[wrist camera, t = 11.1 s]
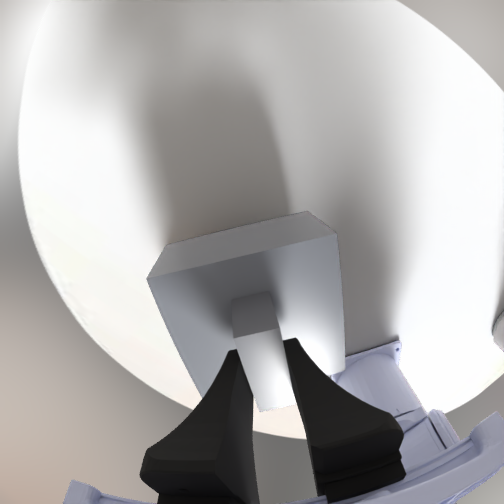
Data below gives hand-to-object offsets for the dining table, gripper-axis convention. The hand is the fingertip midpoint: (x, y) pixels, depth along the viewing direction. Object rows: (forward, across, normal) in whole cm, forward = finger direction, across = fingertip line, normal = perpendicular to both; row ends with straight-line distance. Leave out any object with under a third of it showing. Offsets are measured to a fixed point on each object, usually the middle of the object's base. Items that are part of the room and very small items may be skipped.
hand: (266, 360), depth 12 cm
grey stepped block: (+7, 0, 0) cm, 7 cm away
